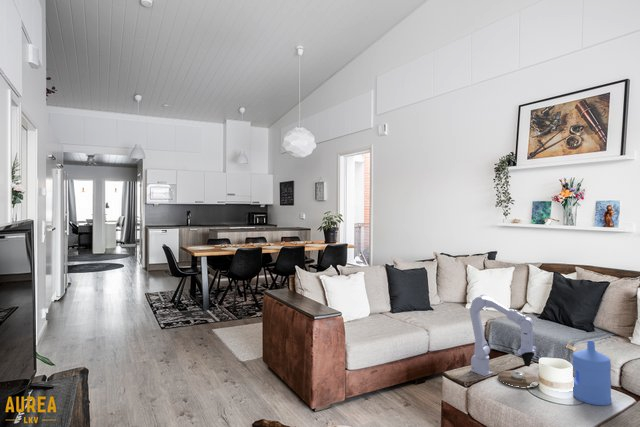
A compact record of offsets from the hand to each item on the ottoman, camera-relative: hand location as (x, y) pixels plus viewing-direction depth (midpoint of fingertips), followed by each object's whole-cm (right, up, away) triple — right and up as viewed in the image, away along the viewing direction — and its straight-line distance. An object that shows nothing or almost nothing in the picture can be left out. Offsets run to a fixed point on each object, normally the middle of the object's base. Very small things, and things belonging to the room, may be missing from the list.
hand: (527, 365), depth 217 cm
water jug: (+22, -9, -19) cm, 30 cm away
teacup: (+22, -9, +2) cm, 24 cm away
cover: (-4, -8, +3) cm, 9 cm away
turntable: (-4, -9, +3) cm, 10 cm away
